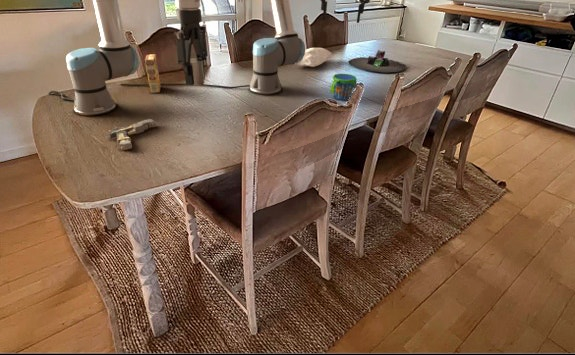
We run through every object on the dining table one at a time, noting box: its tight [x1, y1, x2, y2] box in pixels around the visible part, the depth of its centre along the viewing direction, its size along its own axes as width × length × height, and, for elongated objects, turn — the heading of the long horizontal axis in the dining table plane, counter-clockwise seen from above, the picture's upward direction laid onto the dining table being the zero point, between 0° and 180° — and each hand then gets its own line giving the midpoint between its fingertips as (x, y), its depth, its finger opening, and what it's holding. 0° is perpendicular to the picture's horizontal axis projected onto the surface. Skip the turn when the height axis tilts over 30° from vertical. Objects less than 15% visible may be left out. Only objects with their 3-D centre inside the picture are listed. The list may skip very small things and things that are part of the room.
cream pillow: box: [294, 47, 333, 68], centre depth 217 cm, size 24×35×9 cm
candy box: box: [144, 54, 162, 94], centre depth 168 cm, size 9×4×15 cm, turn 13°
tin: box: [186, 57, 205, 86], centre depth 123 cm, size 6×6×8 cm
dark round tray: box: [347, 49, 407, 74], centre depth 221 cm, size 35×35×9 cm
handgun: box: [108, 118, 157, 151], centre depth 130 cm, size 3×18×15 cm
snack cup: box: [329, 73, 358, 101], centre depth 169 cm, size 16×10×10 cm
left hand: (195, 81), depth 125 cm, fingers closed on tin, 6 cm apart
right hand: (340, 21), depth 145 cm, fingers open, 13 cm apart
